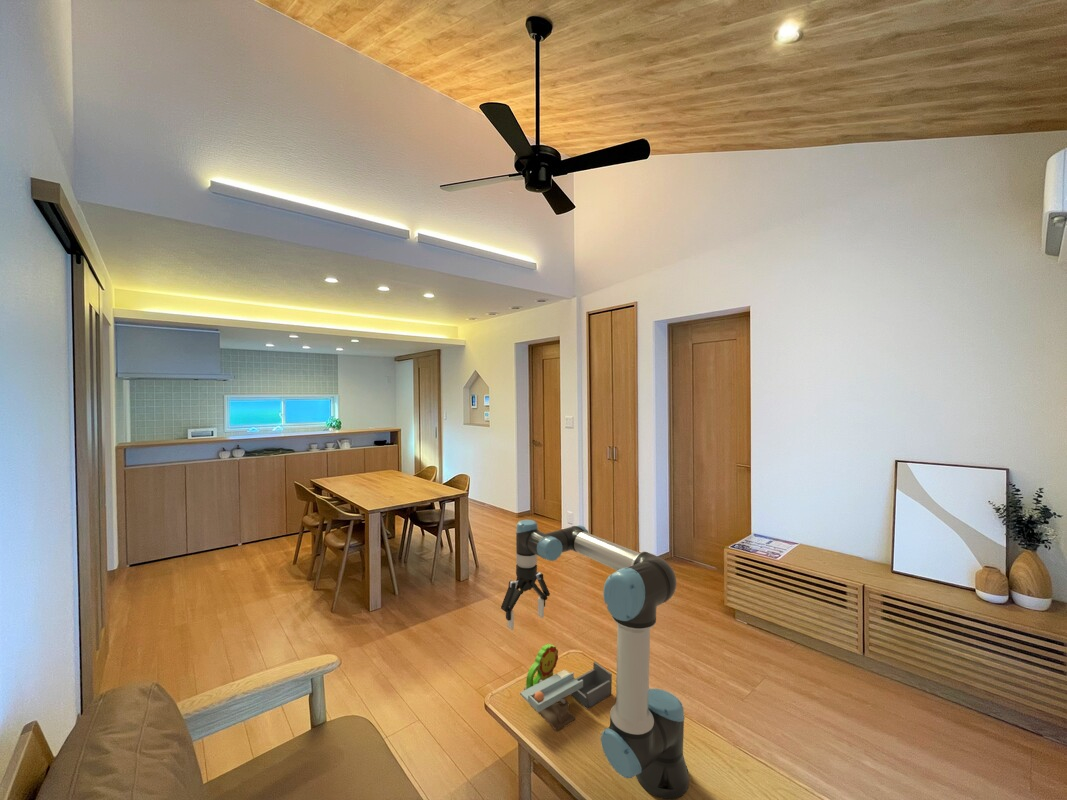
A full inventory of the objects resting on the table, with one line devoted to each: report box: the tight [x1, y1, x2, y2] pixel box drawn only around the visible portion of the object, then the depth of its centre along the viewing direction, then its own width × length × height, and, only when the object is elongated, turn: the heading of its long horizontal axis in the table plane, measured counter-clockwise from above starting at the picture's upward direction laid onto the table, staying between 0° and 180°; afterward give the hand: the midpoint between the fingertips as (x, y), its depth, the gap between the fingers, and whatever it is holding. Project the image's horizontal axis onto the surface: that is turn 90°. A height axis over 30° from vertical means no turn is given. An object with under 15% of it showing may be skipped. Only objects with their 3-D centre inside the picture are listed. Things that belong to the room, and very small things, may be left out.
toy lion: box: [523, 643, 559, 691], centre depth 163 cm, size 16×5×15 cm, turn 137°
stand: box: [537, 701, 576, 732], centre depth 151 cm, size 15×8×6 cm, turn 37°
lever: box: [520, 668, 583, 713], centre depth 151 cm, size 13×20×3 cm, turn 127°
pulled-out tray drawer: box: [570, 661, 613, 710], centre depth 159 cm, size 9×12×8 cm
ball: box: [534, 691, 544, 703], centre depth 144 cm, size 3×3×3 cm
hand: (525, 622), depth 157 cm, fingers open, 13 cm apart
